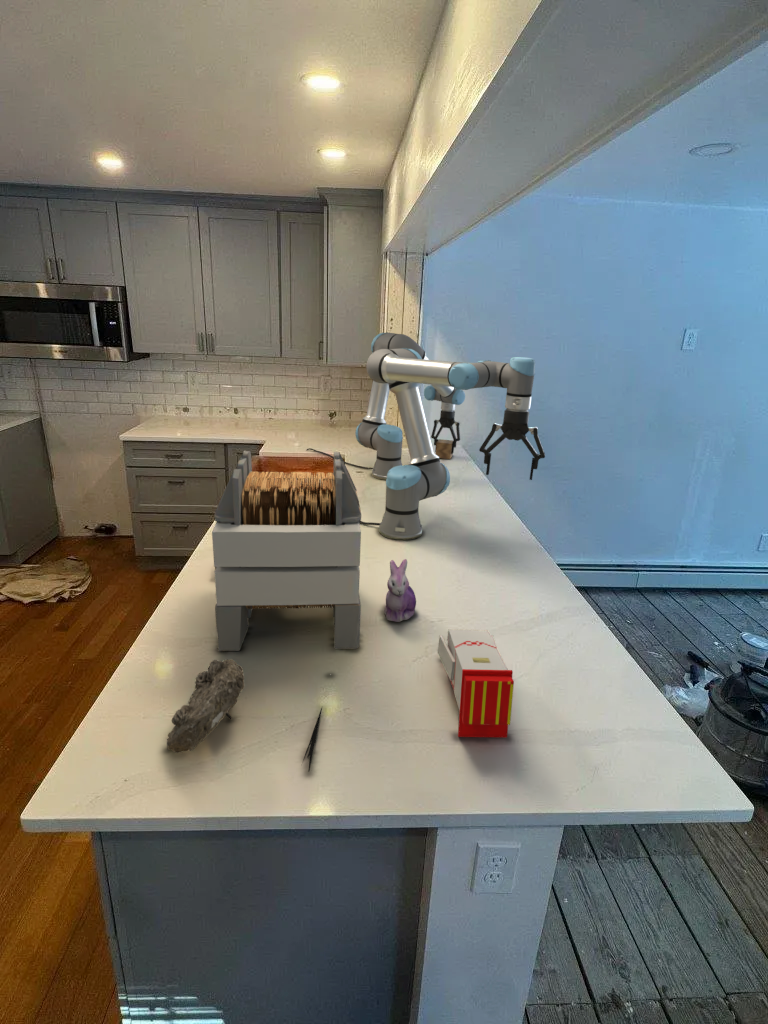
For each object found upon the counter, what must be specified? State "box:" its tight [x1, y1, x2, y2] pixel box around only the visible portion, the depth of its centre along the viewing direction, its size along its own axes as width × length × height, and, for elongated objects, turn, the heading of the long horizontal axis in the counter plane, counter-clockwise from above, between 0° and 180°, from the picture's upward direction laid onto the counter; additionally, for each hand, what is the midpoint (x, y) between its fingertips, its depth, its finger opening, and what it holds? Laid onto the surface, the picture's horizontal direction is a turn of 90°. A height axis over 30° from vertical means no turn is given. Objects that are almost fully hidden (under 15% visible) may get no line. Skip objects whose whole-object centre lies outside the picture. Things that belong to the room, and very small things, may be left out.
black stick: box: [301, 673, 332, 771], centre depth 108 cm, size 2×28×2 cm
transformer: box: [211, 450, 362, 653], centre depth 138 cm, size 34×33×41 cm
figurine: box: [384, 558, 417, 623], centre depth 145 cm, size 9×10×15 cm
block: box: [435, 438, 454, 460], centre depth 306 cm, size 8×8×8 cm
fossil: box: [166, 658, 245, 754], centre depth 106 cm, size 22×10×15 cm
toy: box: [437, 628, 515, 738], centre depth 117 cm, size 12×13×30 cm
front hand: (509, 476), depth 181 cm, fingers open, 13 cm apart
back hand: (444, 452), depth 307 cm, fingers closed on block, 8 cm apart
